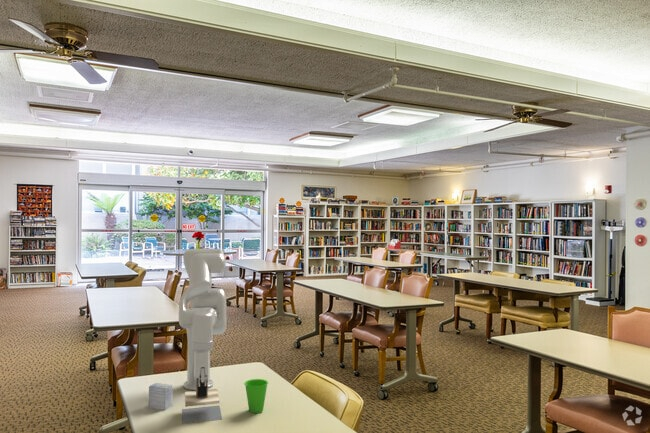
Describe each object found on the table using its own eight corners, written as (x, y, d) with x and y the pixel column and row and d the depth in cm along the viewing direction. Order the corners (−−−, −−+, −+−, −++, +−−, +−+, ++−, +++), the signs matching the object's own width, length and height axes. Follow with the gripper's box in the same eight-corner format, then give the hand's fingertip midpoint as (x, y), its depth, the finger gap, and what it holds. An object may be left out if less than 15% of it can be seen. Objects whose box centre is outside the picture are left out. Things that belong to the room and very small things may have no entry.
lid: (184, 394, 184) (185, 373, 184) (217, 391, 188) (217, 371, 187) (185, 406, 173) (185, 384, 173) (219, 403, 176) (219, 381, 176)
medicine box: (172, 407, 187) (172, 384, 187) (165, 411, 183) (165, 388, 183) (155, 404, 190) (156, 382, 190) (148, 408, 186) (148, 385, 186)
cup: (263, 417, 178) (263, 387, 178) (240, 415, 180) (240, 385, 180) (271, 408, 187) (271, 379, 187) (249, 406, 188) (249, 378, 189)
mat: (182, 410, 184) (182, 409, 184) (219, 406, 188) (219, 405, 188) (182, 425, 171) (182, 423, 171) (222, 420, 175) (222, 419, 175)
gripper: (191, 340, 187) (191, 387, 187) (192, 352, 171) (191, 403, 171) (211, 339, 189) (210, 385, 189) (214, 350, 173) (213, 401, 173)
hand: (201, 393), depth 180 cm, fingers closed on lid, 4 cm apart
